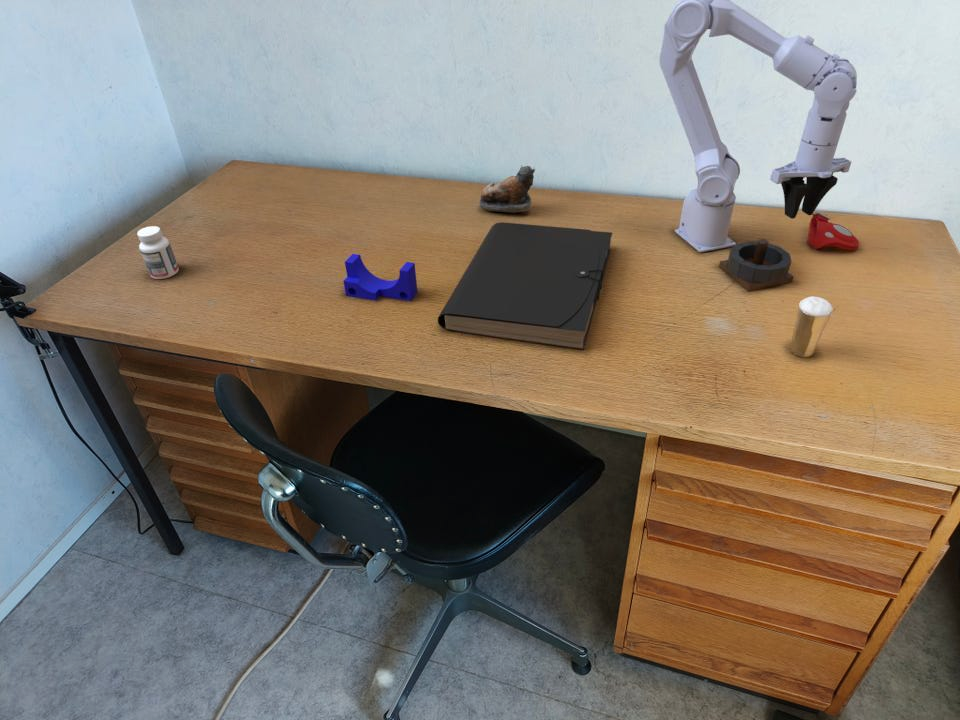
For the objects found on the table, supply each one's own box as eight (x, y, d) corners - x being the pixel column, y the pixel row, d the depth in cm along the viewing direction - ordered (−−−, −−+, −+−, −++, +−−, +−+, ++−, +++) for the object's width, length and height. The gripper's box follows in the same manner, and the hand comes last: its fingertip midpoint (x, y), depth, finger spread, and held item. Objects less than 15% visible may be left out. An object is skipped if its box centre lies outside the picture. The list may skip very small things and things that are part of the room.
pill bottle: (168, 263, 129) (153, 221, 123) (184, 270, 126) (170, 228, 121) (144, 275, 126) (127, 233, 120) (160, 282, 123) (144, 240, 118)
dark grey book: (586, 329, 100) (436, 310, 106) (584, 350, 103) (438, 331, 109) (613, 230, 125) (491, 220, 131) (612, 250, 127) (491, 238, 133)
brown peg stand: (718, 266, 121) (725, 234, 117) (760, 258, 123) (769, 225, 119) (748, 291, 114) (756, 257, 110) (792, 282, 116) (802, 248, 112)
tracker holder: (872, 240, 125) (845, 244, 119) (856, 259, 128) (830, 263, 122) (822, 204, 131) (795, 206, 126) (808, 223, 134) (781, 225, 128)
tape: (716, 260, 121) (719, 246, 119) (763, 251, 123) (767, 237, 121) (749, 287, 113) (753, 273, 111) (799, 277, 115) (803, 263, 114)
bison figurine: (475, 214, 141) (474, 169, 135) (484, 200, 147) (483, 156, 140) (530, 219, 139) (531, 174, 132) (537, 205, 144) (538, 160, 138)
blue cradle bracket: (345, 295, 118) (340, 266, 114) (357, 282, 121) (352, 253, 117) (407, 305, 114) (403, 275, 111) (417, 292, 118) (414, 263, 114)
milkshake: (806, 366, 98) (826, 310, 92) (778, 347, 102) (795, 292, 96) (828, 357, 100) (849, 301, 93) (799, 339, 103) (818, 284, 97)
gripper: (798, 154, 106) (777, 230, 115) (873, 142, 109) (847, 217, 118) (771, 139, 112) (753, 213, 120) (843, 128, 114) (820, 201, 123)
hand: (798, 214), depth 119 cm, fingers open, 3 cm apart
